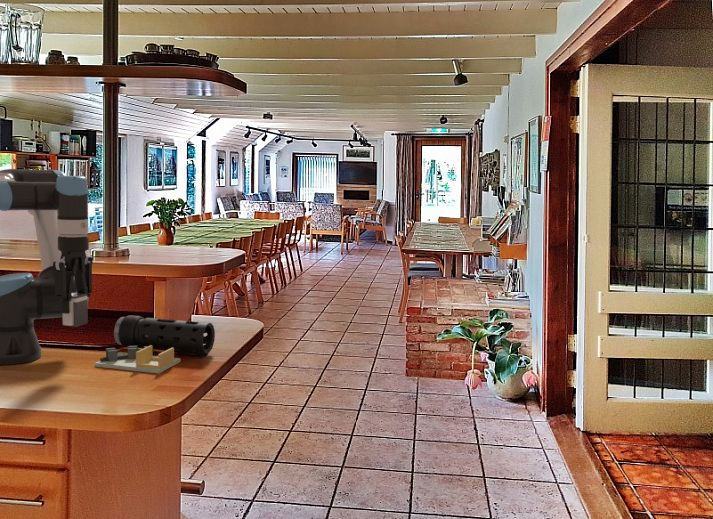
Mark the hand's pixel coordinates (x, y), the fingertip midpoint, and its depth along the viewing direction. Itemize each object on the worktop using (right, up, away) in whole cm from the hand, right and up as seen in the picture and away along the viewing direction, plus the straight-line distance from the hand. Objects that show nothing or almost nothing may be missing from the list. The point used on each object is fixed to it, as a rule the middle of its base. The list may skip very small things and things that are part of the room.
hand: (74, 322), depth 186 cm
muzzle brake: (+18, -11, +22) cm, 30 cm away
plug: (0, 0, 0) cm, 0 cm away
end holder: (+20, -13, +6) cm, 24 cm away
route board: (+14, -12, +9) cm, 21 cm away
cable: (+10, -11, +9) cm, 17 cm away
